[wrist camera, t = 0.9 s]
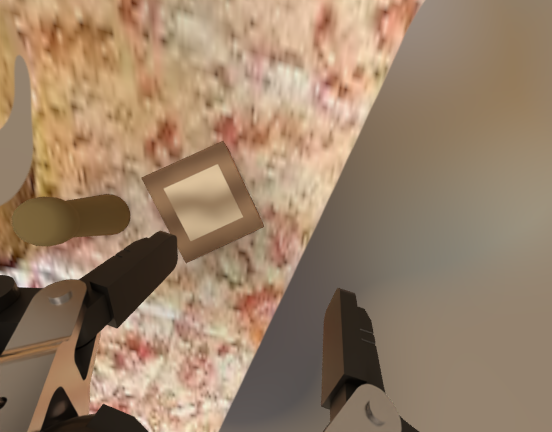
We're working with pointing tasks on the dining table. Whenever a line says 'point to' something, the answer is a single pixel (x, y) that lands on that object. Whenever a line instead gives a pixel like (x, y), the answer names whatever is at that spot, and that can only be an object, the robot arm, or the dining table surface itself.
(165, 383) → the dining table surface
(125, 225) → the brown wooden pawn
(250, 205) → the dock board
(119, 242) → the dining table surface
